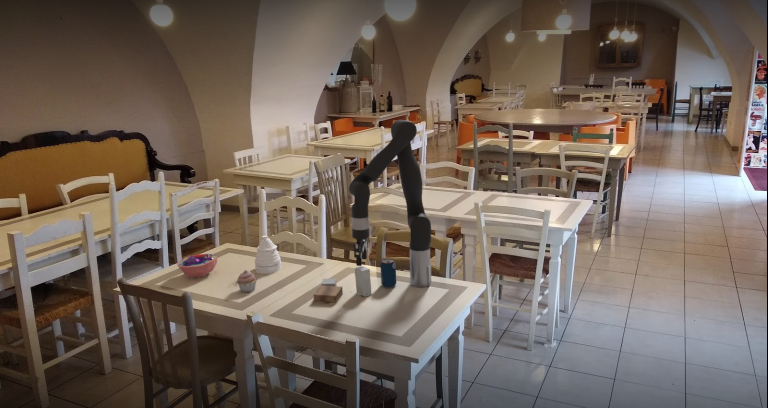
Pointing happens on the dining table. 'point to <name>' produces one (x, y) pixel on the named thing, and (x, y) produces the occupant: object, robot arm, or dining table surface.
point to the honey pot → (267, 257)
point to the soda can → (388, 273)
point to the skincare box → (363, 281)
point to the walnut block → (328, 294)
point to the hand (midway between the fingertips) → (361, 262)
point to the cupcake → (246, 281)
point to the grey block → (329, 282)
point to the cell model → (198, 265)
